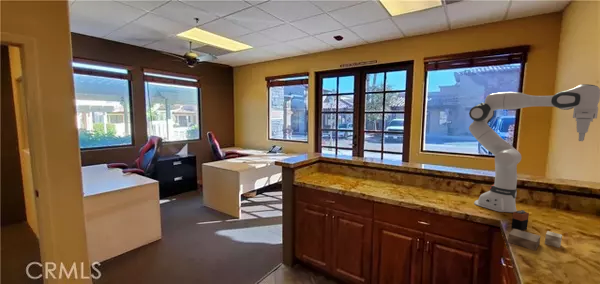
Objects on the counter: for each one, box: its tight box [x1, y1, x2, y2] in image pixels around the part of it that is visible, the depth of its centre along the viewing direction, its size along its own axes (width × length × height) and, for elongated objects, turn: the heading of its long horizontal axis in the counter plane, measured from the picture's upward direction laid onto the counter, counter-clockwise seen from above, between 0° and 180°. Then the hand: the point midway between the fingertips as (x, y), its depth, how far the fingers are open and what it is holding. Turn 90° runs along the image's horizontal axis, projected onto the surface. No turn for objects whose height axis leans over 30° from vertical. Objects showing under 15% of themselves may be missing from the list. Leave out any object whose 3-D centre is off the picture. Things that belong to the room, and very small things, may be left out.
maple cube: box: [544, 230, 563, 249], centre depth 123 cm, size 5×5×5 cm
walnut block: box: [507, 228, 541, 252], centre depth 123 cm, size 10×10×4 cm
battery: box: [511, 209, 530, 231], centre depth 139 cm, size 4×7×10 cm, turn 116°
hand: (581, 140), depth 141 cm, fingers open, 8 cm apart
